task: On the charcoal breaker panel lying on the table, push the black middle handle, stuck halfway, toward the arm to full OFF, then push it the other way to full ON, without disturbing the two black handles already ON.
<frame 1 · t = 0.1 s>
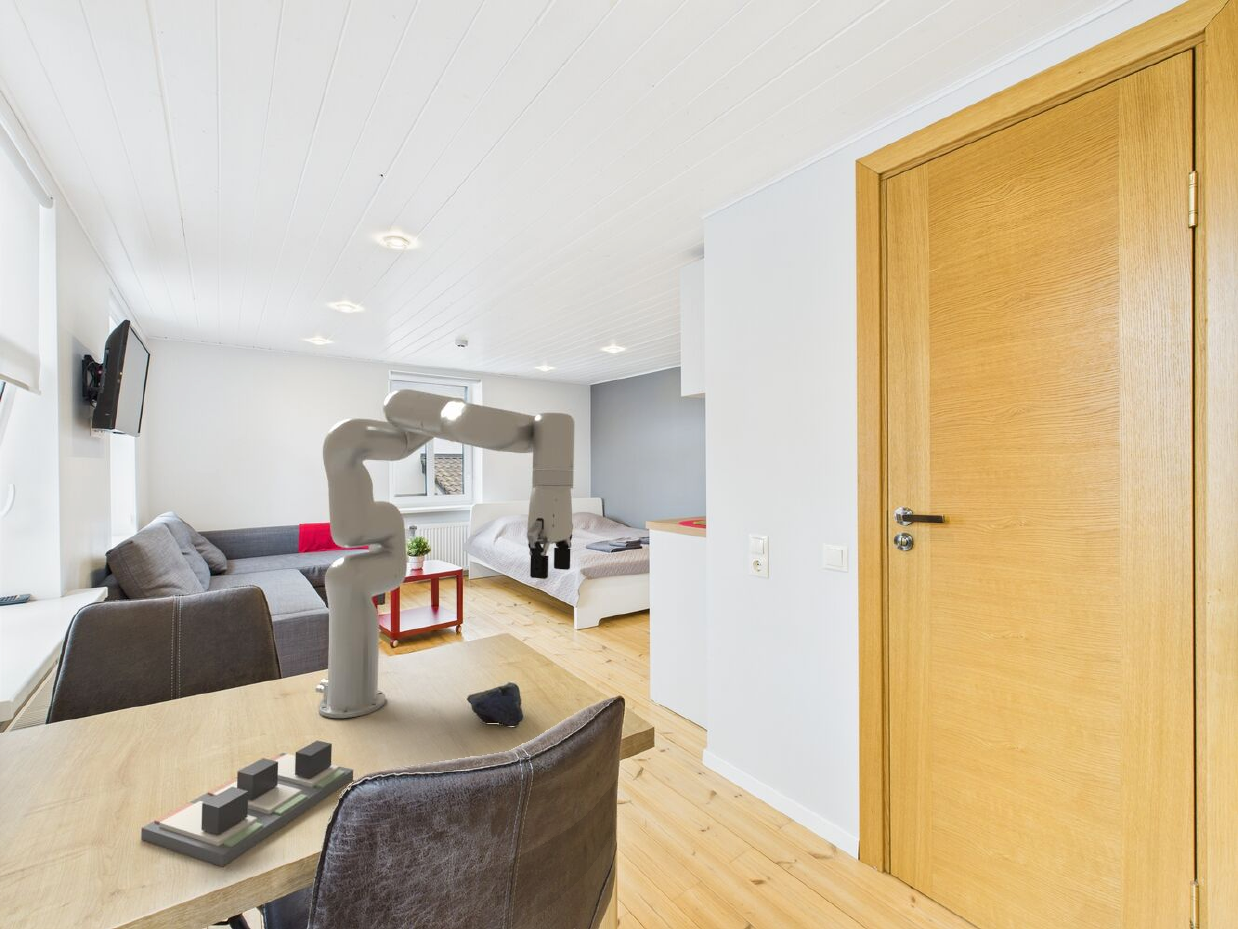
hand: (551, 573, 102), 31 cm above the table, tool pointing down, fingers open, 9 cm apart
rock: (490, 720, 111), on the table
breaker panel: (257, 806, 81), on the table
breaker 1: (225, 810, 74), point 4 cm above the table, slide at 3.0 cm
breaker 2: (313, 759, 87), point 4 cm above the table, slide at 3.0 cm
breaker tripped: (257, 778, 81), point 4 cm above the table, slide at 0.0 cm
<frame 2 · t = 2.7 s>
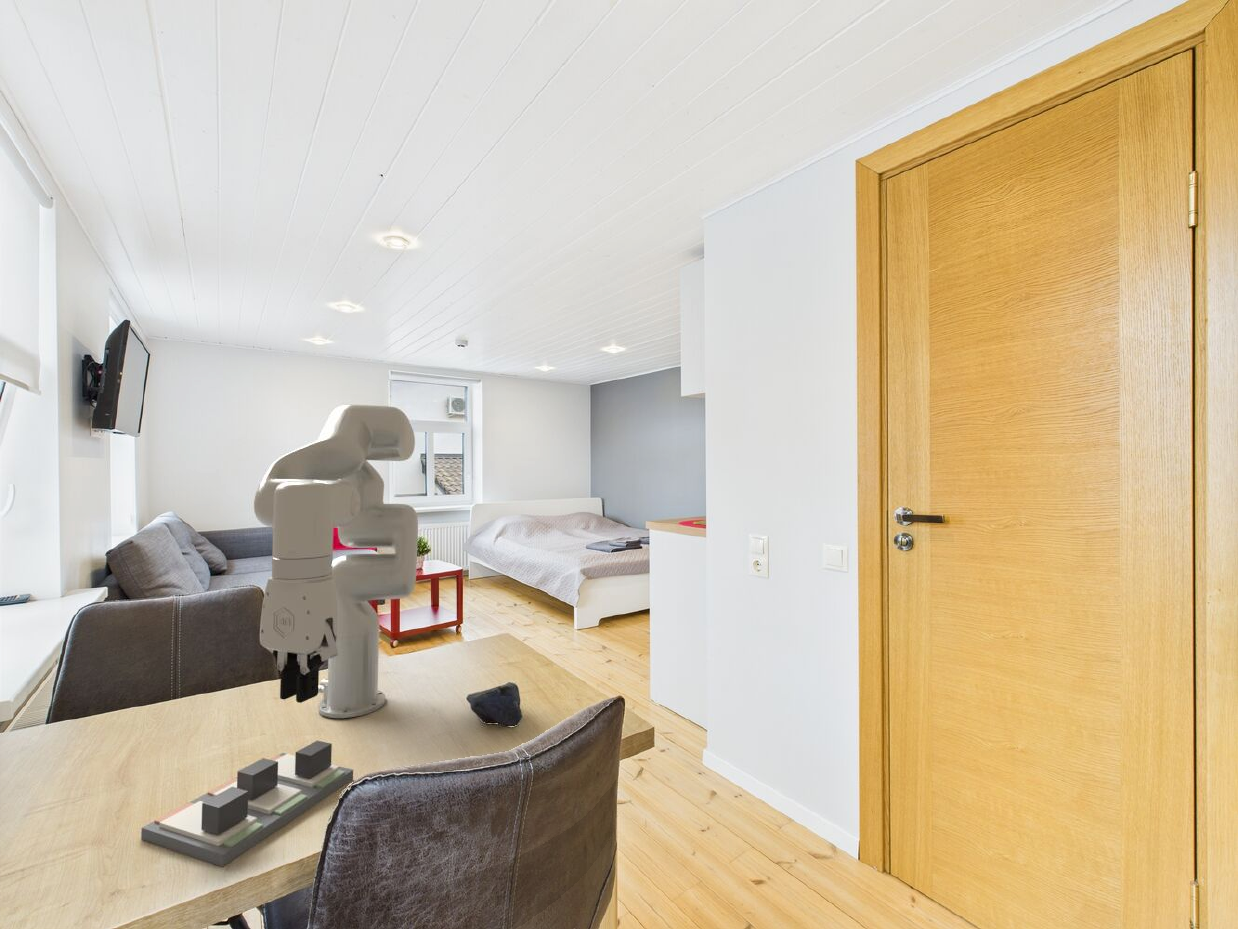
hand: (299, 696, 79), 17 cm above the table, tool pointing down, fingers closed
nothing on the table moved.
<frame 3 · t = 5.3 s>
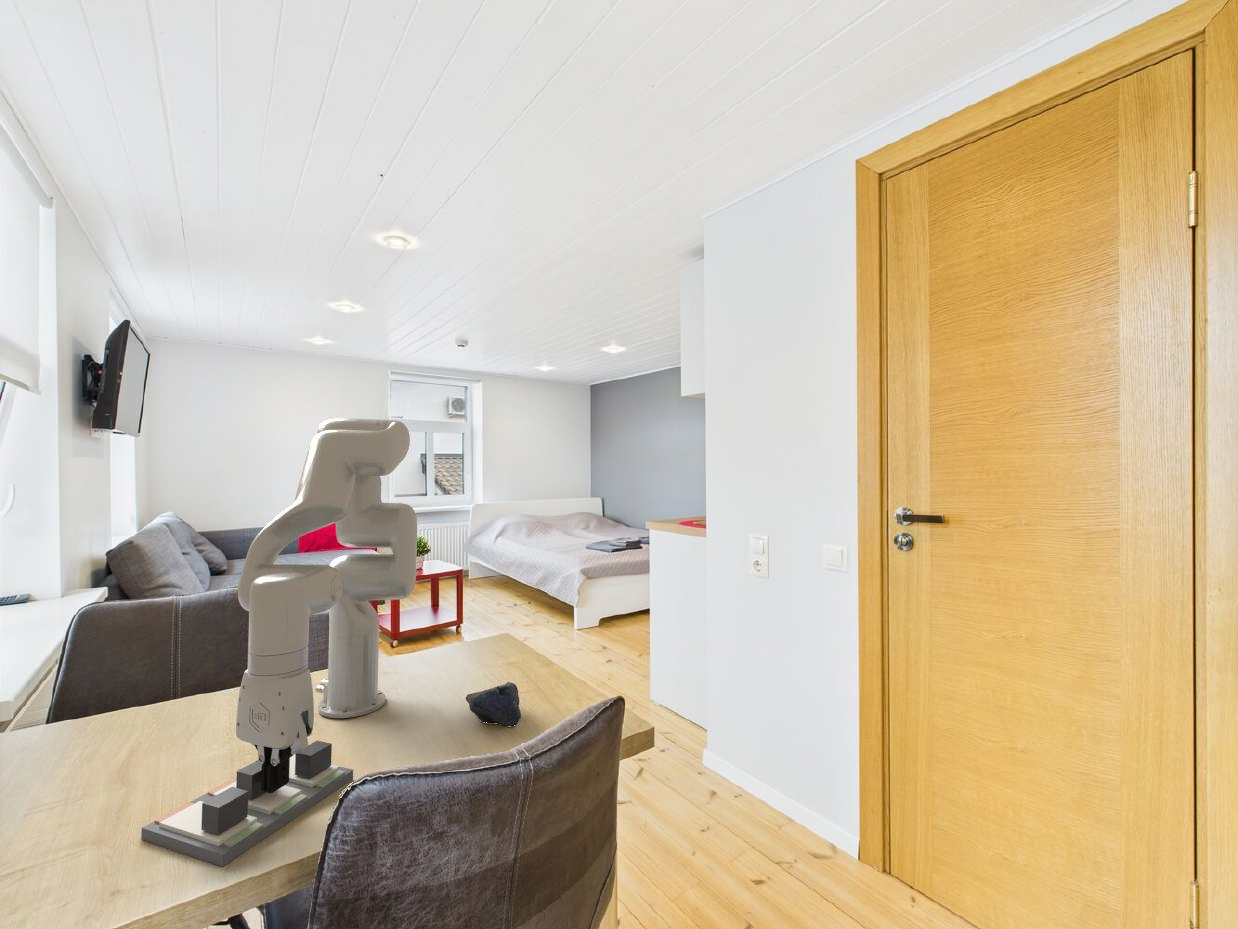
hand: (275, 787, 80), 3 cm above the table, tool pointing down, fingers closed
breaker tripped: (257, 778, 81), point 4 cm above the table, slide at -0.2 cm, touching gripper
everything else where it was.
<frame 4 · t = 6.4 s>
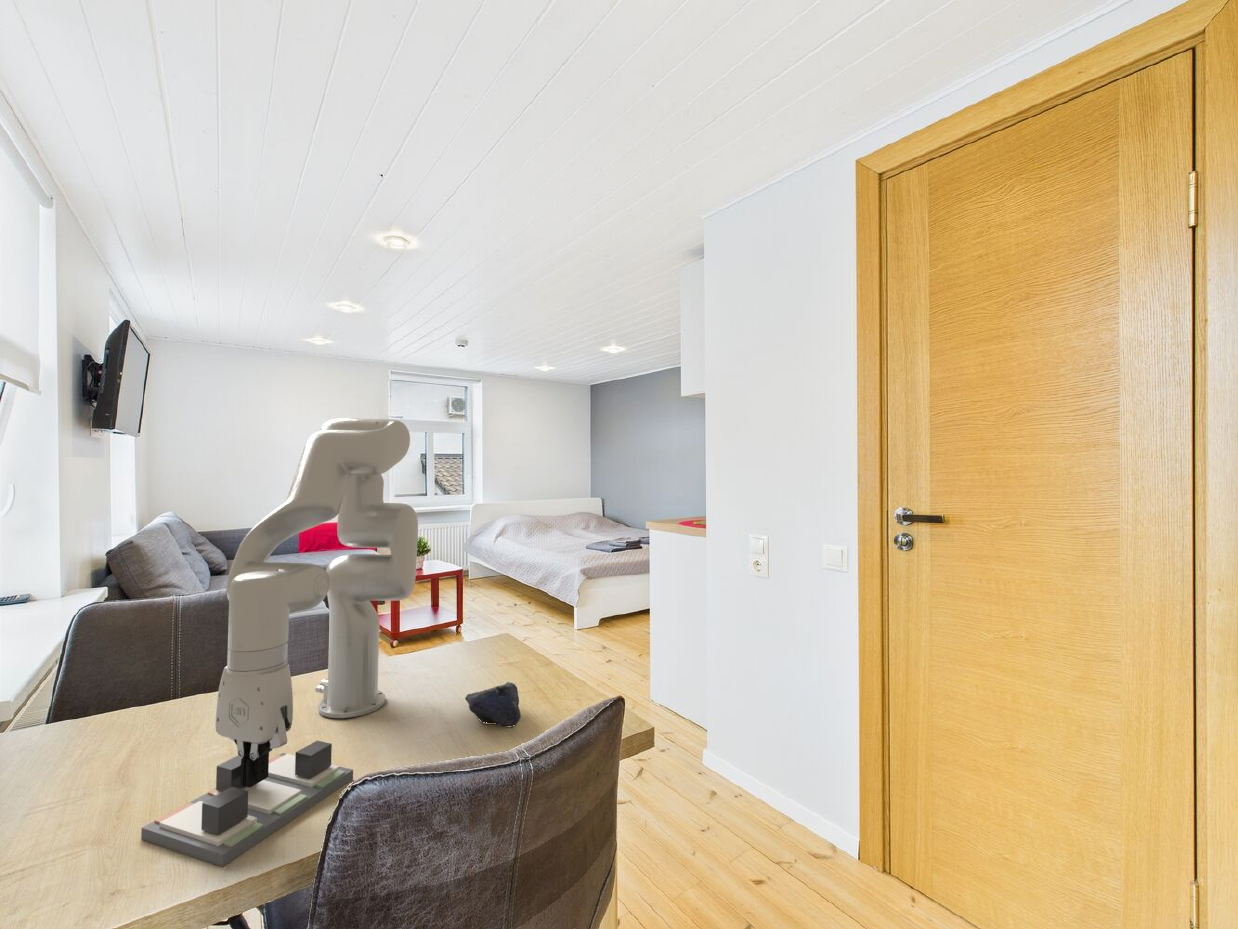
hand: (254, 781, 82), 3 cm above the table, tool pointing down, fingers closed
breaker tripped: (237, 773, 83), point 4 cm above the table, slide at -4.2 cm, touching gripper
everything else where it was.
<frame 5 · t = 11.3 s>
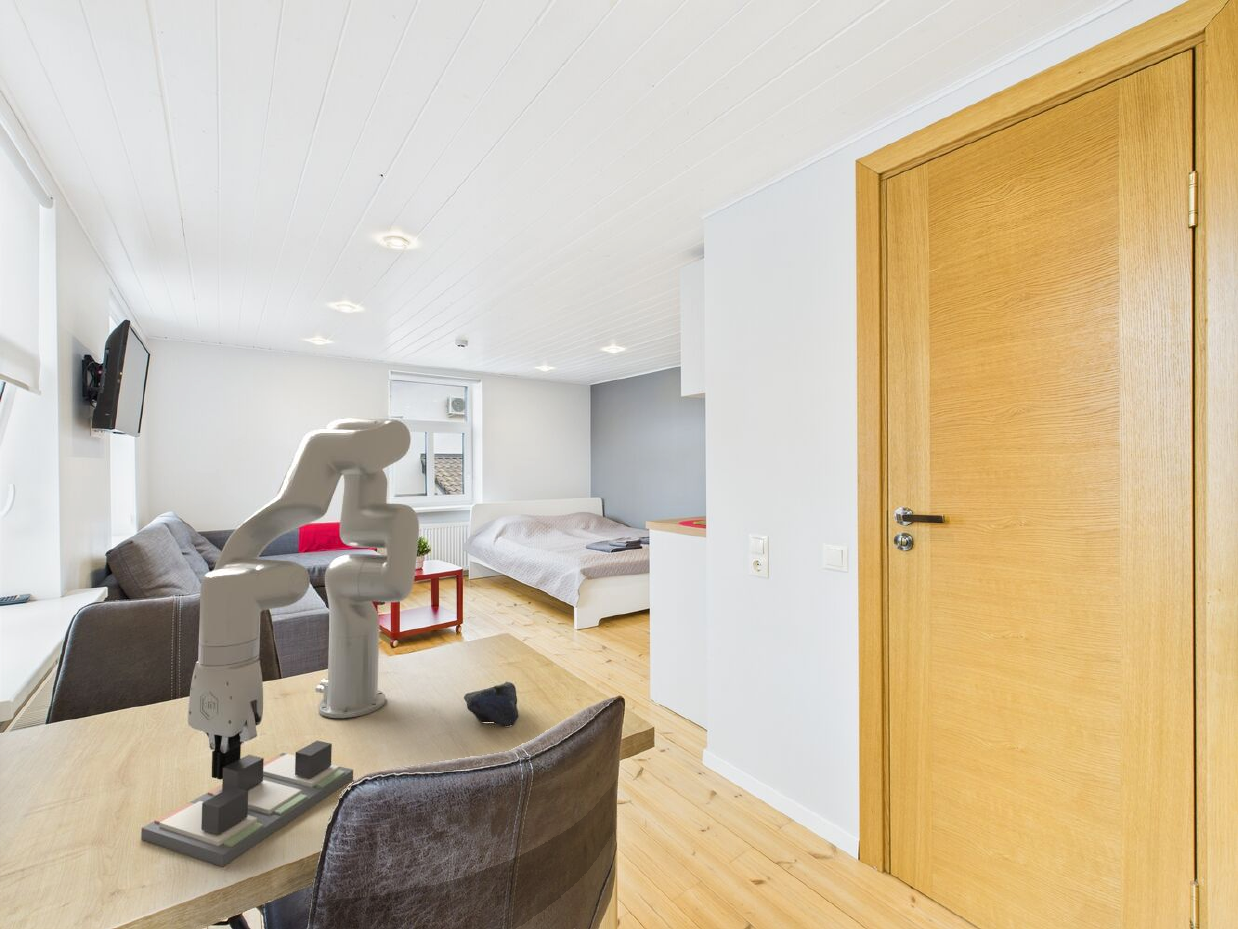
hand: (225, 773, 83), 4 cm above the table, tool pointing down, fingers closed
breaker tripped: (243, 774, 82), point 4 cm above the table, slide at -2.9 cm, touching gripper
everything else where it was.
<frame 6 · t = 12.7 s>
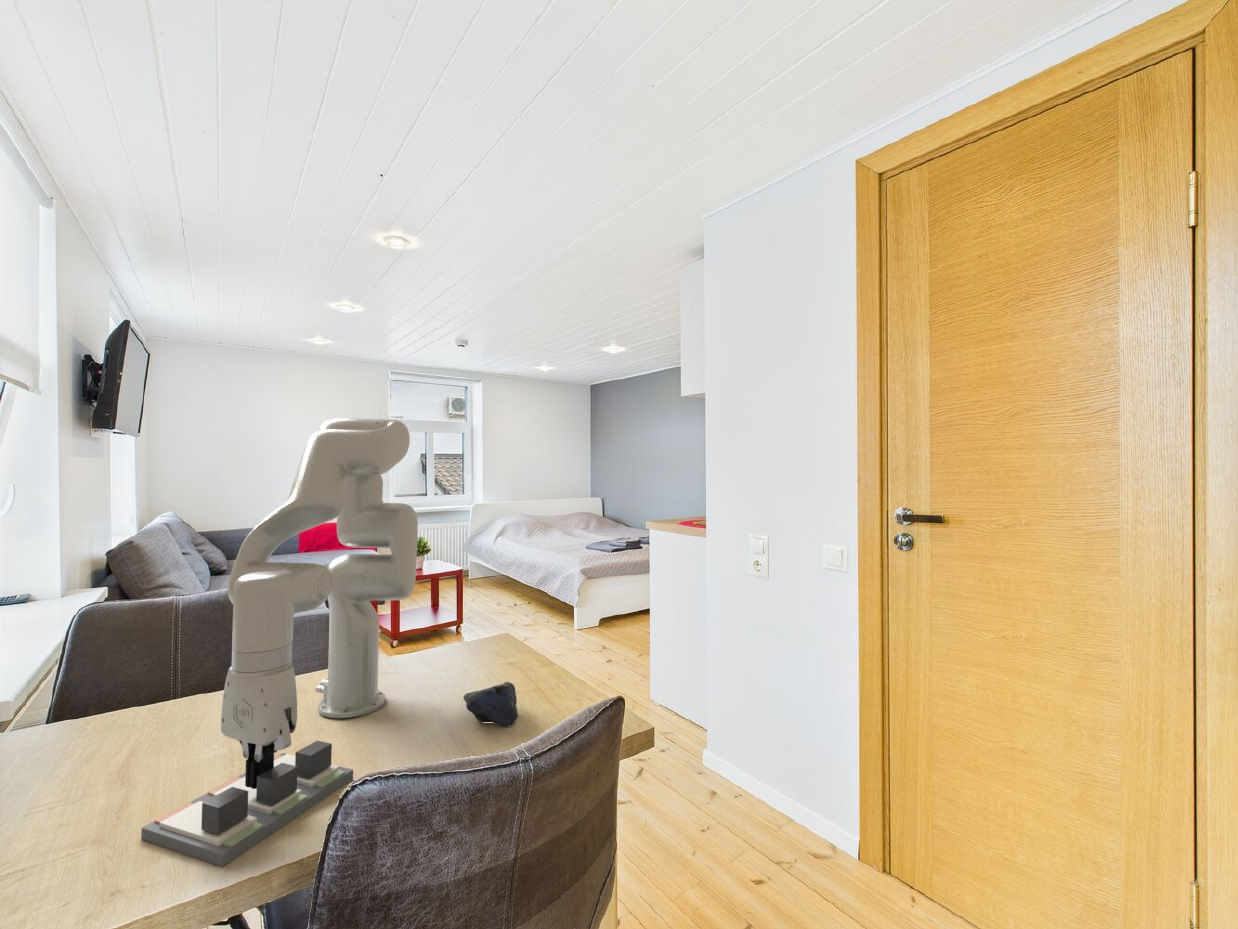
hand: (259, 782, 81), 4 cm above the table, tool pointing down, fingers closed
breaker tripped: (277, 783, 80), point 4 cm above the table, slide at 3.8 cm, touching gripper
everything else where it was.
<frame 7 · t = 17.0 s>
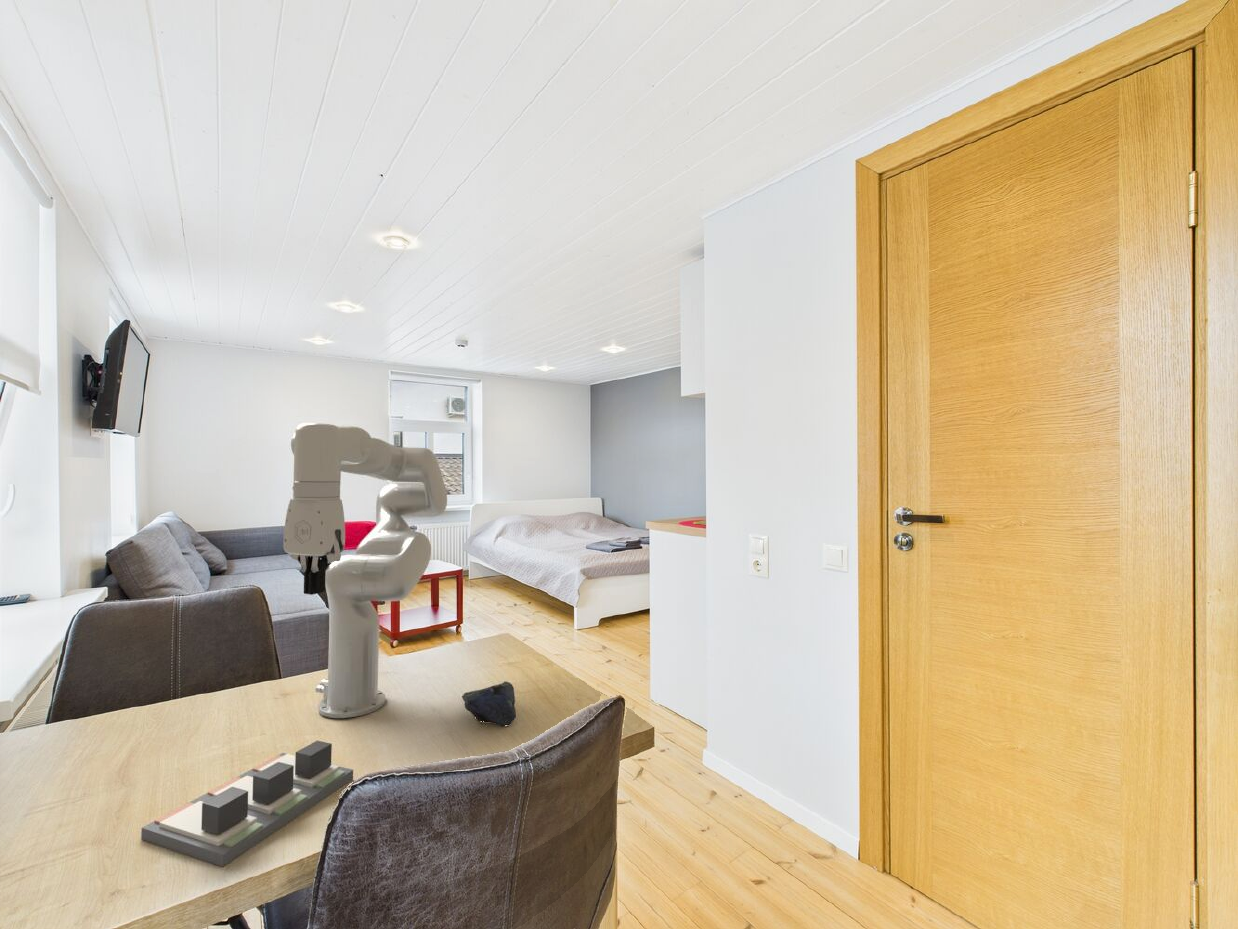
hand: (314, 592, 100), 27 cm above the table, tool pointing down, fingers closed
breaker tripped: (273, 782, 80), point 4 cm above the table, slide at 3.1 cm
at the end: breaker tripped slide at 3.1 cm; breaker 2 slide at 3.0 cm; breaker 1 slide at 3.0 cm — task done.
